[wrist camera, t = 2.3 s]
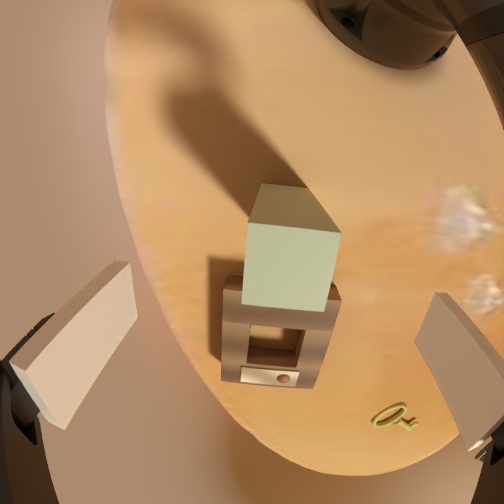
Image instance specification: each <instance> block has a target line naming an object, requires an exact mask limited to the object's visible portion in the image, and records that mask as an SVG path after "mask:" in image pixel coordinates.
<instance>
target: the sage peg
mask: <svg viewBox="0 0 504 504" xmlns="http://www.w3.org/2000/svg"><path fill="white" fill-rule="evenodd" d="M340 238H341V232H340V230H339V229H338V228H337V226H336V225H335V223H334V222H333V221H332V219H331V218H330V216H329V215H328V214H327V212H326V211H325V210H324V208H323V207H322V206H321V204H320V203H319V202H318V200H317V199H316V198H315V196H314V195H313V194H312V192H311V191H310V190H309V189H308V188H303V187H295V186H286V185H277V184H267V183H262V184H261V187H260V189H259V192H258V195H257V198H256V200H255V203H254V206H253V209H252V212H251V214H250V217H249V220H248V223H247V236H246V249H245V262H244V276H243V289H242V303H241V304H246V305H255V306H264V307H274V308H284V309H295V310H307V311H319V312H324V310H325V306H326V302H327V298H328V294H329V289H330V285H331V281H332V276H333V272H334V267H335V263H336V258H337V253H338V248H339V243H340Z"/></svg>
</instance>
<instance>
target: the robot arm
mask: <svg viewBox="0 0 504 504" xmlns="http://www.w3.org/2000/svg"><path fill="white" fill-rule="evenodd" d="M315 3H316V7H317V10H318V12H319V14H320V16H321V18H322V19H323V21H324V23H325V24H326V25H327V27H328V28H329V29H330V30H331V31H332V32H333V34H334V35H335V36H336V37H337V38H339V39H340V40H341V41H342V42H343V43H344V44H345V45H347V46H348V47H349V48H351V49H352V50H354V51H355V52H357V53H358V54H360V55H362V56H363V57H365V58H367V59H369V60H371V61H374V62H376V63H378V64H381V65H384V66H387V67H391V68H396V69H406V70H409V69H418V68H421V67H424V66H426V65H429V64H431V63H433V62H435V61H437V60H438V59H440V58H441V57H442V56H443V55H444V54H445V52H446V51H447V49H448V48H449V46H450V44H451V43H452V41H453V40H454V38H455V36H456V35H457V33H458V35H459V36H460V38H461V39H462V41H463V43H464V44H465V46H466V48H467V50H468V52H469V53H470V55H471V57H472V59H473V60H474V62H475V64H476V66H477V68H478V70H479V72H480V74H481V76H482V78H483V80H484V82H485V84H486V86H487V89H488V91H489V93H490V95H491V98H492V100H493V103H494V105H495V108H496V110H497V113H498V115H499V118H500V121H501V124H502V127H503V130H504V0H315ZM137 318H138V316H137V310H136V304H135V297H134V291H133V283H132V275H131V267H130V263H129V262H123V261H116V260H115V261H114V262H112V263H111V264H110V265H109V266H108V267H106V268H105V269H104V270H103V271H102V272H100V273H99V274H98V275H97V276H96V277H95V278H94V279H92V280H91V281H90V282H89V283H88V284H87V285H86V286H84V287H83V288H82V289H81V290H80V291H79V292H78V293H77V294H75V295H74V296H73V297H72V298H71V299H70V300H69V301H68V302H67V303H66V304H65V305H64V306H63V307H61V308H60V309H59V310H58V311H57V312H56V313H52V314H51V315H49V316H47V317H45V318H43V319H42V320H41V321H40V322H39V323H38V324H37V325H36V326H35V327H34V329H31V331H29V333H27V336H25V337H24V338H23V339H22V340H21V341H20V342H19V343H18V344H17V345H16V346H15V347H14V348H13V349H12V350H11V351H10V352H9V353H8V354H7V355H6V356H5V358H4V359H3V360H1V361H0V504H59V502H58V499H57V496H56V493H55V489H54V486H53V483H52V479H51V476H50V472H49V468H48V464H47V460H46V455H45V450H44V445H43V440H42V433H41V427H40V422H39V419H38V417H37V414H38V413H39V411H41V412H42V414H43V415H44V417H45V418H46V419H47V421H49V422H51V423H52V424H54V425H56V426H58V427H59V428H61V429H63V430H65V429H66V427H67V425H68V423H69V422H70V420H71V418H72V417H73V415H74V413H75V412H76V410H77V408H78V407H79V405H80V403H81V402H82V400H83V399H84V397H85V395H86V394H87V392H88V391H89V389H90V387H91V385H92V384H93V383H94V381H95V379H96V378H97V376H98V375H99V373H100V372H101V370H102V369H103V367H104V366H105V364H106V363H107V361H108V360H109V358H110V356H111V355H112V353H113V352H114V351H115V349H116V348H117V346H118V345H119V343H120V342H121V340H122V339H123V337H124V336H125V334H126V333H127V332H128V330H129V328H130V327H131V326H132V325H133V323H134V322H135V320H136V319H137ZM414 342H415V344H416V346H417V347H418V349H419V351H420V353H421V354H422V356H423V358H424V360H425V362H426V363H427V365H428V367H429V369H430V371H431V373H432V375H433V377H434V379H435V381H436V383H437V384H438V386H439V388H440V390H441V392H442V395H443V397H444V399H445V401H446V403H447V405H448V407H449V409H450V411H451V414H452V416H453V418H454V420H455V422H456V425H457V427H458V429H459V432H460V434H461V436H462V439H463V441H464V444H465V446H466V449H467V451H469V450H471V449H473V448H476V447H478V446H480V445H481V444H482V443H483V442H484V441H485V440H486V439H487V438H489V437H490V436H491V437H492V441H491V442H490V443H488V444H487V445H486V446H485V447H484V448H483V449H482V450H481V451H480V452H479V453H478V454H477V455H476V457H475V459H477V458H478V457H480V456H481V455H482V454H483V453H486V454H485V455H483V456H482V457H481V458H480V461H483V466H482V470H481V474H480V477H479V481H478V484H477V487H476V490H475V493H474V496H473V499H472V502H471V504H504V360H503V359H502V358H501V356H500V355H499V354H498V352H497V351H496V350H495V349H494V347H493V346H492V345H491V343H490V342H489V341H488V340H487V338H486V337H485V336H484V335H483V333H482V332H481V331H480V330H479V329H478V327H477V326H476V325H475V324H474V323H473V321H472V320H471V319H470V318H469V317H468V316H467V314H466V313H465V312H464V311H463V310H462V309H461V308H460V307H459V306H458V304H457V303H456V302H455V301H454V300H453V299H452V298H451V297H450V296H449V295H448V294H447V293H438V292H435V294H434V297H433V299H432V302H431V304H430V307H429V309H428V312H427V314H426V316H425V319H424V321H423V323H422V326H421V328H420V330H419V332H418V334H417V336H416V339H415V341H414Z"/></svg>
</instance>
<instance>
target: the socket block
mask: <svg viewBox="0 0 504 504" xmlns="http://www.w3.org/2000/svg"><path fill="white" fill-rule="evenodd" d="M242 289H243V277H237V276H228V277H227V280H226V283H225V285H224V288H223V310H222V354H221V381H227V382H234V383H242V384H251V385H260V386H271V387H285V388H304V389H313V388H314V385H315V382H316V379H317V377H318V374H319V371H320V368H321V365H322V362H323V360H324V357H325V354H326V351H327V348H328V344H329V341H330V338H331V335H332V332H333V329H334V325H335V322H336V319H337V315H338V312H339V308H340V305H341V298H340V295H339V293H338V290H337V287H336V286H330V289H329V294H328V298H327V302H326V306H325V310H324V312H319V311H307V310H295V309H284V308H274V307H264V306H255V305H246V304H241V303H242ZM251 325H258V326H268V327H278V328H290V329H300V334H299V338H298V342H297V346H296V350H295V351H284V350H273V349H262V348H253V347H249V339H250V329H251Z"/></svg>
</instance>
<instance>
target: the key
mask: <svg viewBox="0 0 504 504" xmlns="http://www.w3.org/2000/svg"><path fill="white" fill-rule="evenodd" d="M397 408H403V409H402V410H401V411H400V412H399V413H397V414H396V415H395V416H393V417H391V418H389V419H388V420H385V421H383V422H377V420H378V419H379V418H380V417H381V416H383V415H384V414H385V413H387V412H389V411H391V410H394V409H397ZM406 411H407V406H406V404H405V403H399V404H396V405H393V406H391V407H389V408H387V409H385V410H383V411H382V412H380V413H379V414H378V415H376V416H375V417H374V418H373V420H372V424H373V426H374V427H384V426H387V425H389V424H391V423H393V424H395V425H397V424H398V425H400V426H402V427H403V428H405V429H407V430H408V431H412V429H413V427H415V426H417V425H418V424H419V423H417V421H416V422H414V423H413V424H411V425H410V424H408V423H406V422H405V421H403V420H402V418H401V417H402V416H403V415H404V414H405V413H406Z"/></svg>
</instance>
